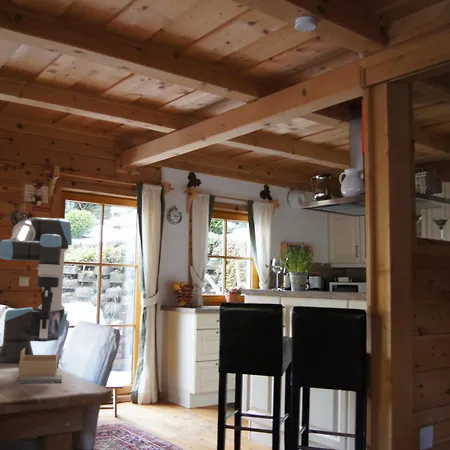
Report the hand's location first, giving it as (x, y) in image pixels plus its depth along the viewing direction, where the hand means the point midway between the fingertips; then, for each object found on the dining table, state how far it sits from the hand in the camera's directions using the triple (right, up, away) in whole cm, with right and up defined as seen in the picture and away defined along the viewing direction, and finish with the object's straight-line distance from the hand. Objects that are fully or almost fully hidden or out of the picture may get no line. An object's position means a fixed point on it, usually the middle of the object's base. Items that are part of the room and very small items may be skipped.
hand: (44, 336), depth 198 cm
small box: (0, -1, 0) cm, 2 cm away
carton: (-7, -17, +13) cm, 22 cm away
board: (0, -15, -2) cm, 15 cm away
